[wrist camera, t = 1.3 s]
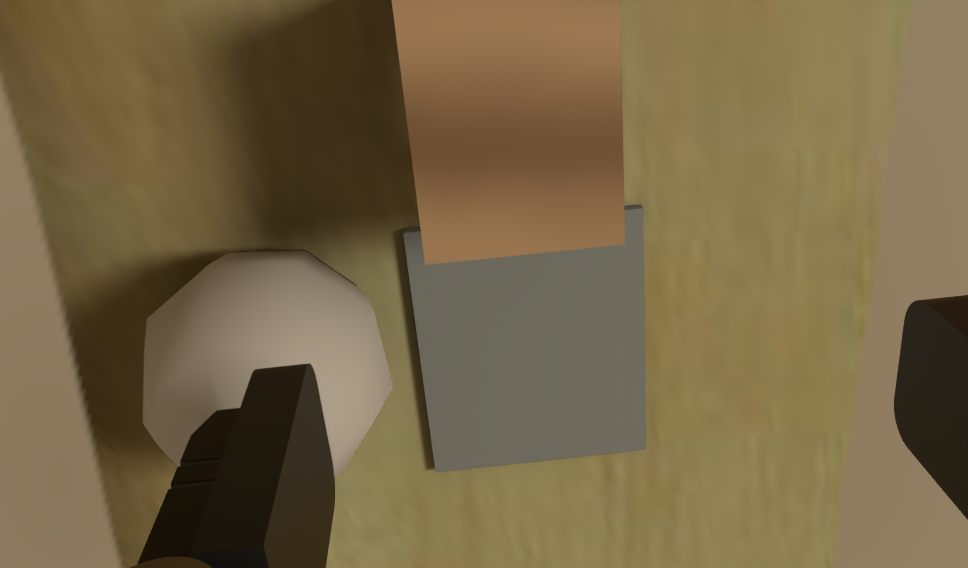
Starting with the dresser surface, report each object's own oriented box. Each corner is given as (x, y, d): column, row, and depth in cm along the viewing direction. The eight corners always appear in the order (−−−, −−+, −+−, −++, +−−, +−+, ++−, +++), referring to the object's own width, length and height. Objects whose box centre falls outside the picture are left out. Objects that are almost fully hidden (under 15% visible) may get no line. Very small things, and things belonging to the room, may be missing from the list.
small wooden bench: (397, -41, 29) (389, -16, 23) (577, -58, 29) (619, -39, 23) (425, 188, 33) (424, 264, 26) (586, 171, 33) (624, 244, 26)
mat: (403, 228, 33) (403, 232, 33) (640, 204, 34) (643, 208, 33) (435, 466, 38) (435, 472, 38) (643, 444, 38) (645, 449, 38)
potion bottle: (359, 441, 37) (310, 885, 21) (145, 386, 36) (-89, 823, 19) (425, 260, 34) (426, 621, 18) (192, 189, 32) (-43, 517, 16)
